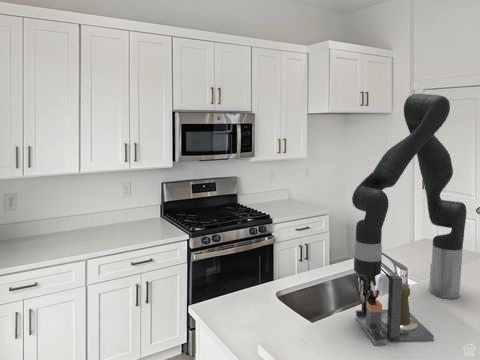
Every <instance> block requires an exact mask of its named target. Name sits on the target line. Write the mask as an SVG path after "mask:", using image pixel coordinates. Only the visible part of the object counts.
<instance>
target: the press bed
mask: <svg viewBox="0 0 480 360" xmlns="http://www.w3.org/2000/svg"><path fill="white" fill-rule="evenodd" d="M402 284H403V277H401V276H400V275H397V274H396V275H395V274H394V275H393V274H390V275H388V296H387V298H388V299H387V309H382V312H381V329H380V330H381V333H382V334H385V335H386V339H387V340H388V341H389V342H390V343H402V342H403V343H404V342H405V343H407V342H408V343H409V342H434V341H435V340H434V337H435V336H434V334H432V332H431V331H429V329H427V328H426V327H425V325H423V324H422V323H421V322H420V321H419V320H418V319H417V318H416V317H415V316H414V315H413V314H412V313H411V312H410V324H409V325H407V326H400V319H401V297H402Z"/></svg>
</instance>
